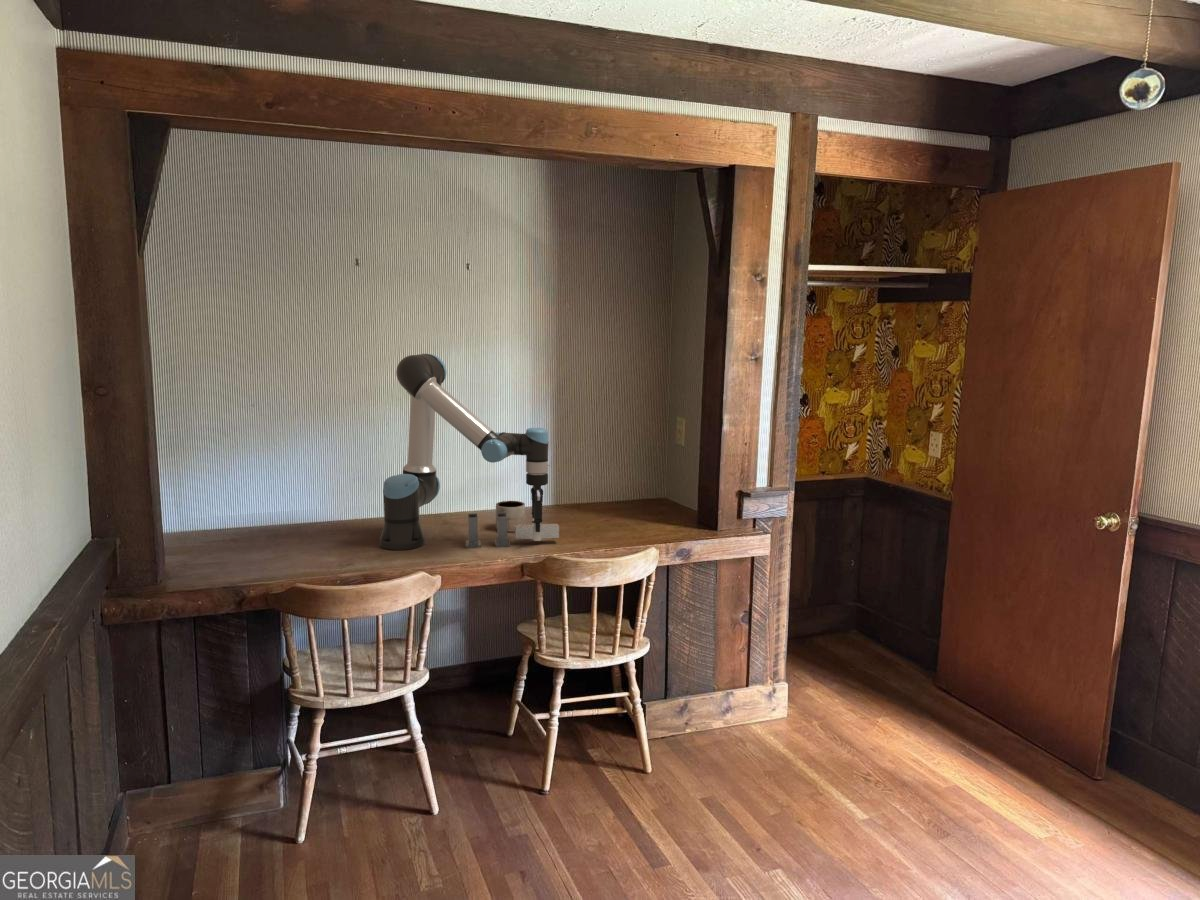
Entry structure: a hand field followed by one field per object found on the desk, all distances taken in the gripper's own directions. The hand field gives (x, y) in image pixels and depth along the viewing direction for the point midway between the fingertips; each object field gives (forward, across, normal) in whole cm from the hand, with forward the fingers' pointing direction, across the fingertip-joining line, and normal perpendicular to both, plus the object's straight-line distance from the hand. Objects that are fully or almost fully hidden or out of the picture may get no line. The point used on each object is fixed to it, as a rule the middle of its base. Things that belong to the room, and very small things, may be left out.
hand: (536, 538), depth 277 cm
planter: (+2, +20, +8) cm, 22 cm away
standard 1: (+2, 0, +22) cm, 22 cm away
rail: (-1, 0, 0) cm, 1 cm away
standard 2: (+2, 0, +12) cm, 12 cm away
